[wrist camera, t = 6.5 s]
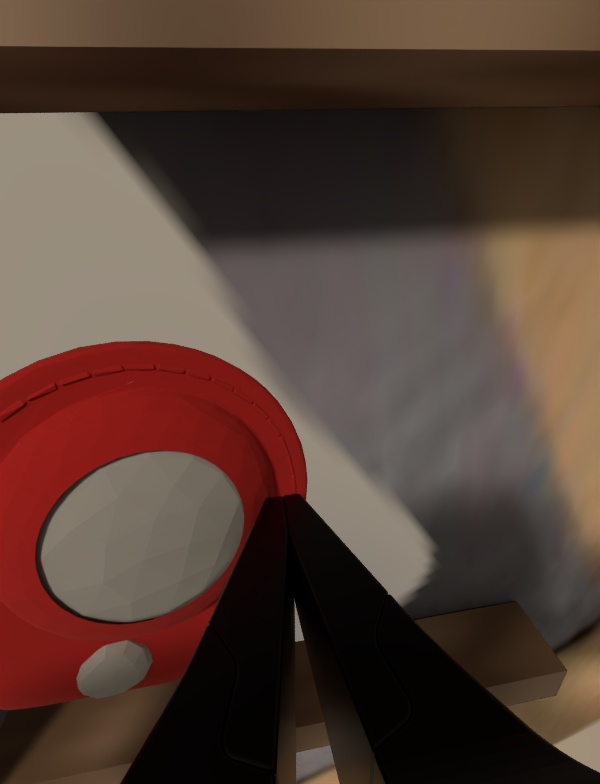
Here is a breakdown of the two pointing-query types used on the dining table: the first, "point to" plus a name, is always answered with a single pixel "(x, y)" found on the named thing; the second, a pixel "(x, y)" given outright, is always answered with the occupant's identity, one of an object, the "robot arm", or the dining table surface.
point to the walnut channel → (287, 92)
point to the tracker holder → (126, 511)
